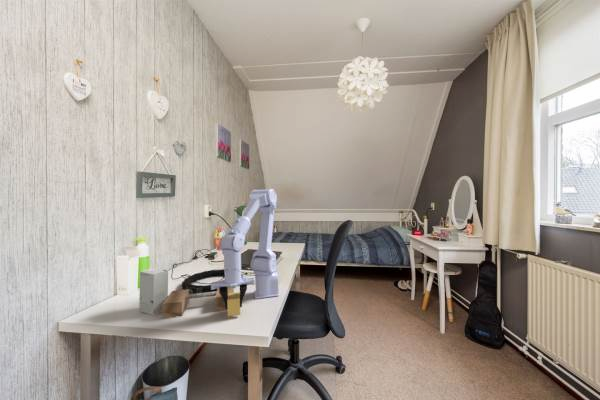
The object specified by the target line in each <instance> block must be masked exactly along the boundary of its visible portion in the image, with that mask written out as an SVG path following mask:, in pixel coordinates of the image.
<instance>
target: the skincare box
mask: <svg viewBox="0 0 600 400" xmlns="http://www.w3.org/2000/svg"><path fill="white" fill-rule="evenodd" d="M168 296H169V270H167V269H163V268H162V267H161V268H159V267H150V268H148V269H143V270H140V271H139V304H138V305H139V308H138V309H139V310H138V311H139V312H141V313H143V314H144V313H145V314H148V315H150V316H155V315H157V313H158V314H160V313H163V306H162V304H163V303H164V301H165V300H166V299H167V297H168ZM159 312H160V313H159Z"/></svg>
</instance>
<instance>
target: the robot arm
mask: <svg viewBox="0 0 600 400" xmlns="http://www.w3.org/2000/svg"><path fill="white" fill-rule="evenodd" d="M248 198H249V202H248V203H247V205H246V207H245V209H244V212H243V214H242V215H241V216H239V217H236V218H235V221H234V223H233V224H232V225H231V227H230V229H229V231H228V233H226V234H224V235H223V236H222V237H221V239H220V242H219V247H220V249H221V251H222V255H223V264H224V266H223V269H224V275H225V276H224V279H223V280H218V281H212V282H211V284H210V285H211V290H214V289H217V288H219V292H220V294H221V296H222V298H223V300H224V302H225V306H226V309H228V307H227V299H228V287H234V288H236V287H239V292H240V308H243V301H244V297H245V295H246V293H247V290H248V286H250V285H251V286H255V290H254V291H253V292H254V297H255V298H254V299H257V300H258V299H264V298H265V299H266V298H273V297H279V296H280V295H279V276H278V272H277V271H276V270H277V267H278V266H277V263H278V262H277V254H276V253H275V252H274V251H273V250H272V241H273V231H274V222H275V220H274V219H275V210H276V209H277V201H278V196H277V193H276V191H275V190H274V188H268V189H266V188H265V189H252V191H251V192H250V193H249V196H248ZM258 210H260V212H261V219H260V220H261V221H260V229H259V239H258V249H256V250H255V251H254V252H253V254H252V258H251V260H250V269H251V271H253V274H254V277H243V278H242V276H243V275H242V276H241V274H242V251H241V250H242V249H243V248H244V247H245V239H246V235H247V233H248V231H249V230H250V228H251V227H252V223H251V220H252V218H253V217H254V216H255V214H256V213H257V212H258ZM235 286H236V287H235Z"/></svg>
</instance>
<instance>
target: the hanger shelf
mask: <svg viewBox="0 0 600 400" xmlns="http://www.w3.org/2000/svg"><path fill="white" fill-rule="evenodd" d="M234 289H235V288H233V287H228V294H229V293H235V291H234ZM206 297H207V298H208V297H215V298H214V301H215V302H214V305H215V306H214V307H215V312H222V311H228V309H226V306H225V302H224V300H223V298H222V296H221V294H220V292H219V288H217V291H214V292H206V293H197V294H189V289H186V290H183V289H178V290H172V291H171V292H170V293H169V294H168V297H167V299H166V300H165V301H164V303H163V304H162V306H163V311H162V319H163V318H164V319H169V318H170V317H171V318H176V316H179V317H182V316H183V315H184V313H185V311H186V309H187V307H188V305H189V303H190V300H192V299H199V298H200V299H201V298H206ZM171 318H170V319H171Z"/></svg>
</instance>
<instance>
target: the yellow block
mask: <svg viewBox="0 0 600 400" xmlns="http://www.w3.org/2000/svg"><path fill="white" fill-rule="evenodd" d="M227 307H228V310H227V317H231V316H232V317H233V316H240V315H241V307H240V291H239V292H234V293H229V294H228V299H227Z"/></svg>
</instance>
